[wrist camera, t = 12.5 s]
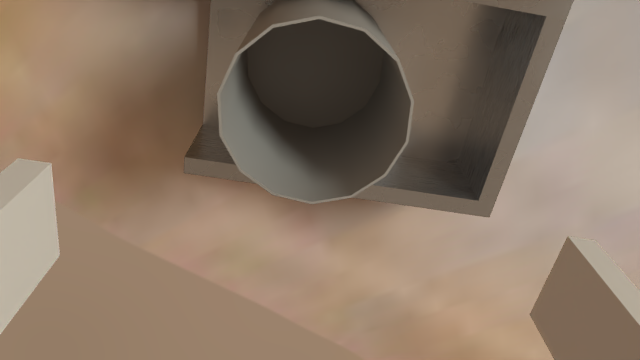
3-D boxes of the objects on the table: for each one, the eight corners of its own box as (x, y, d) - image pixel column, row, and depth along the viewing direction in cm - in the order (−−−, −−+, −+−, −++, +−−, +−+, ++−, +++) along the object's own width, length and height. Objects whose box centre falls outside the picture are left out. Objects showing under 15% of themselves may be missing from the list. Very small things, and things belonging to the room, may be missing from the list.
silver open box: (205, 132, 33) (183, 173, 28) (219, -74, 27) (195, -73, 22) (462, 172, 35) (489, 217, 29) (526, -16, 29) (574, -2, 24)
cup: (245, -17, 28) (212, 11, 19) (390, -11, 28) (425, 19, 19) (248, 123, 32) (223, 201, 23) (376, 128, 32) (399, 206, 23)
